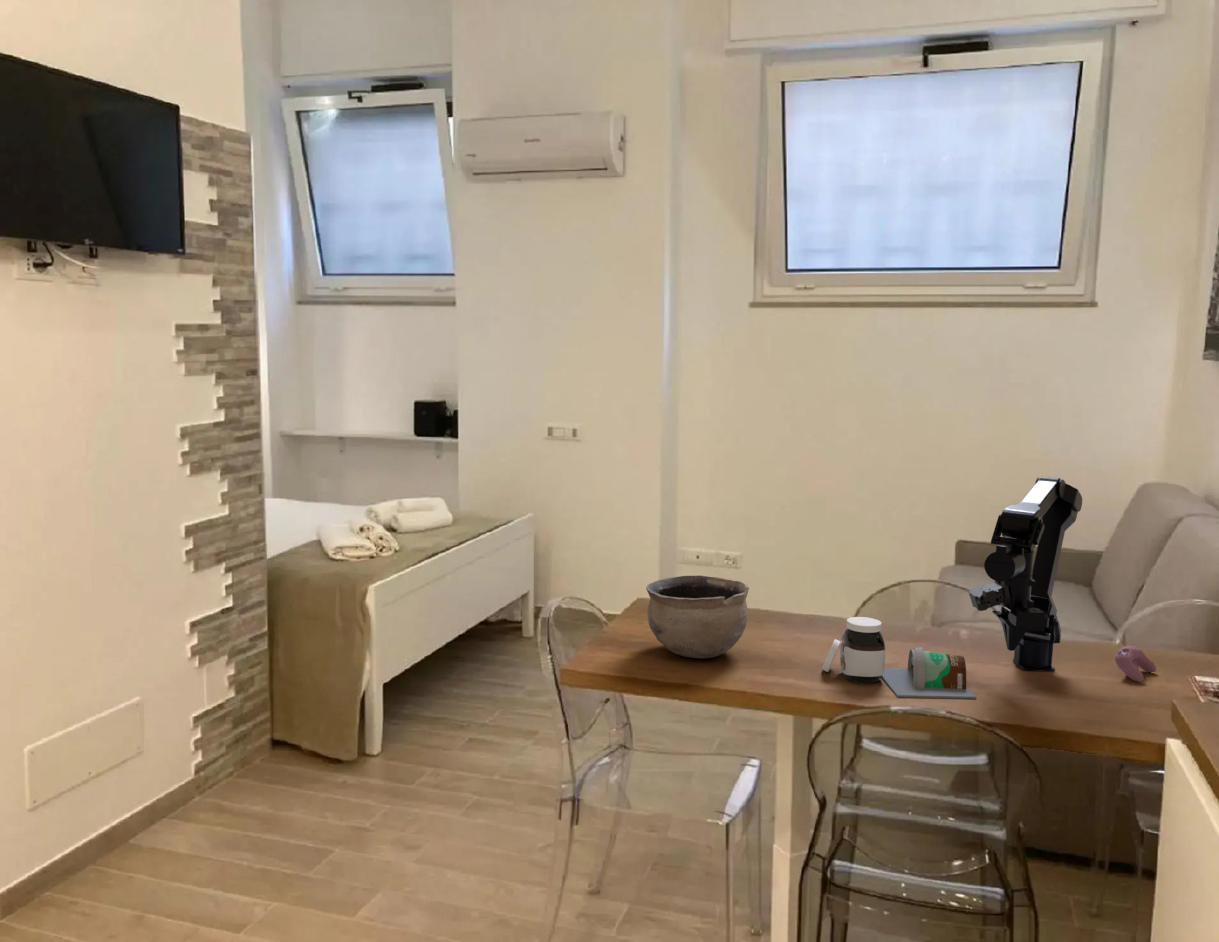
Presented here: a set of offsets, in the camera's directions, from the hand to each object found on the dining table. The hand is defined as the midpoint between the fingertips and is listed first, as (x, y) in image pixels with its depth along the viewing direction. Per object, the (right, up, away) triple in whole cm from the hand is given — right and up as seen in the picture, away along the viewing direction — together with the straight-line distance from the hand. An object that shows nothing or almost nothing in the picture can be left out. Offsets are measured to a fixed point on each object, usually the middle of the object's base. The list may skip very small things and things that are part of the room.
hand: (1010, 649), depth 193 cm
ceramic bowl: (-61, -4, +18) cm, 64 cm away
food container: (-9, -4, +1) cm, 10 cm away
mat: (-17, -7, +1) cm, 18 cm away
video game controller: (+29, -7, +9) cm, 31 cm away
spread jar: (-30, -6, +5) cm, 32 cm away
